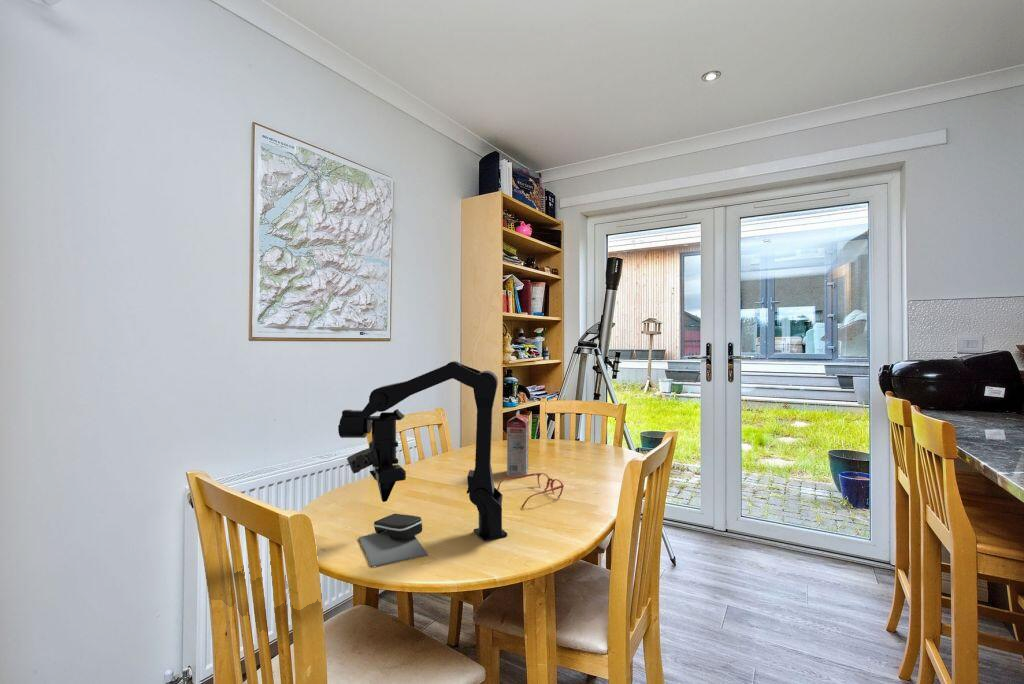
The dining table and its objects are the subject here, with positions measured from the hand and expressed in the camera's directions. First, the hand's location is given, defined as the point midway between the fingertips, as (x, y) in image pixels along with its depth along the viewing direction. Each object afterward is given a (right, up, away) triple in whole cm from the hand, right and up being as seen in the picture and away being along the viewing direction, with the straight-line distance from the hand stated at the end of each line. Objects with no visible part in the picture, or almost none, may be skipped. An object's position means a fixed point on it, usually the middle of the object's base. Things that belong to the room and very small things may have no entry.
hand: (384, 501), depth 115 cm
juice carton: (+33, -8, +51) cm, 61 cm away
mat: (+4, -8, -7) cm, 11 cm away
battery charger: (-1, -7, +2) cm, 7 cm away
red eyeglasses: (+37, -8, +28) cm, 47 cm away
